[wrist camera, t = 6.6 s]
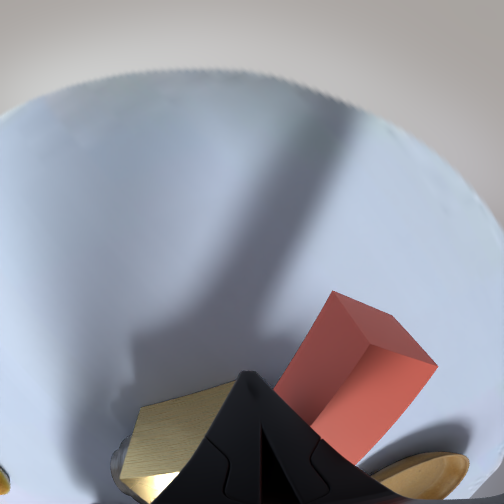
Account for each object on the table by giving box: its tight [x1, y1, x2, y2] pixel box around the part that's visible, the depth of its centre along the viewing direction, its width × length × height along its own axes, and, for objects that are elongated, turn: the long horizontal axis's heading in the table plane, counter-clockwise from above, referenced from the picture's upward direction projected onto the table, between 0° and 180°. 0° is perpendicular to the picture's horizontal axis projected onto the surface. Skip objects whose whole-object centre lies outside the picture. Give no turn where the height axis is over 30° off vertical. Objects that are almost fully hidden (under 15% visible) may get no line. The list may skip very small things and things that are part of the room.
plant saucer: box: [371, 452, 470, 500], centre depth 22 cm, size 15×15×3 cm
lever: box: [273, 290, 438, 465], centre depth 10 cm, size 15×3×3 cm, turn 155°
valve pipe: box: [110, 380, 236, 504], centre depth 16 cm, size 13×7×6 cm, turn 112°
